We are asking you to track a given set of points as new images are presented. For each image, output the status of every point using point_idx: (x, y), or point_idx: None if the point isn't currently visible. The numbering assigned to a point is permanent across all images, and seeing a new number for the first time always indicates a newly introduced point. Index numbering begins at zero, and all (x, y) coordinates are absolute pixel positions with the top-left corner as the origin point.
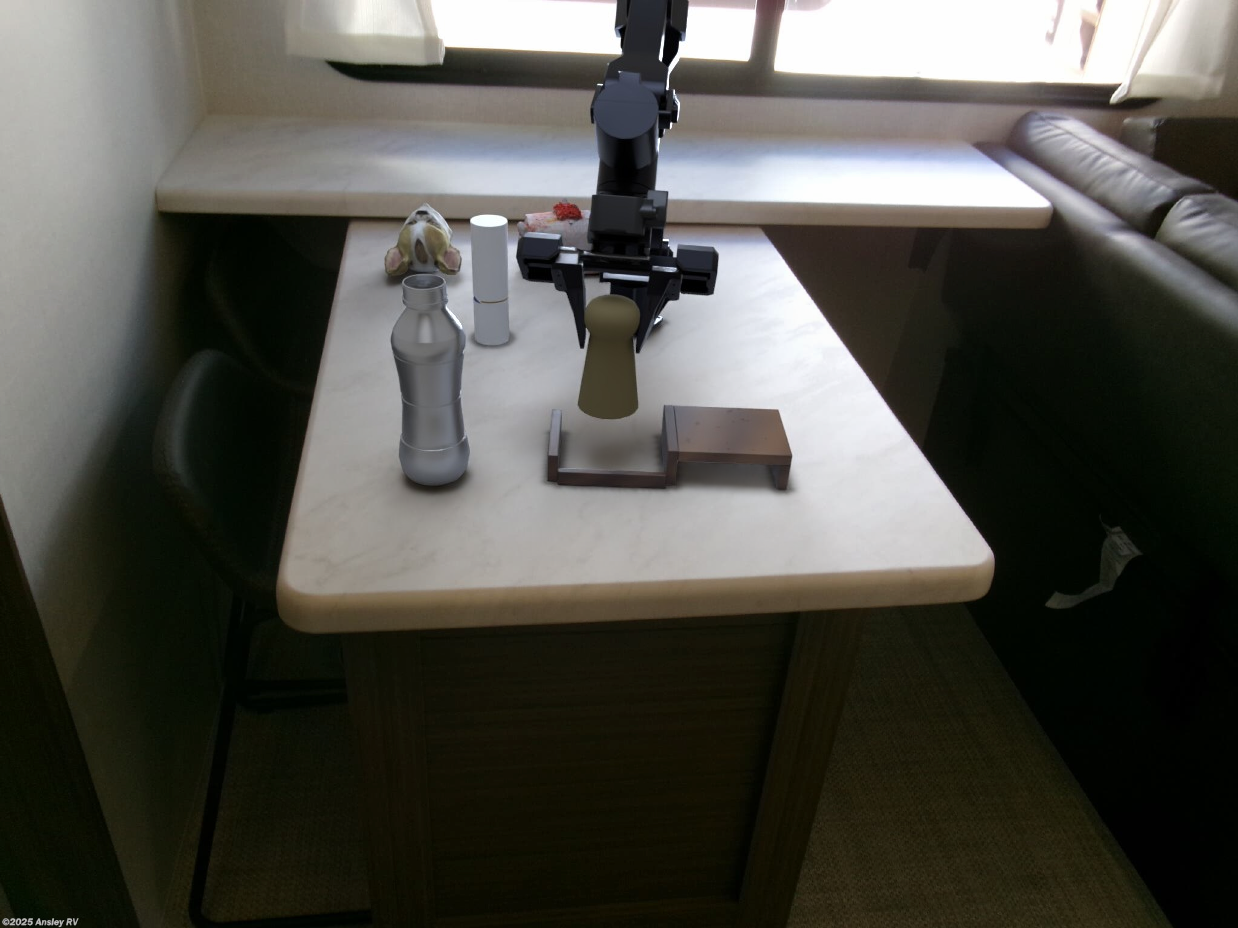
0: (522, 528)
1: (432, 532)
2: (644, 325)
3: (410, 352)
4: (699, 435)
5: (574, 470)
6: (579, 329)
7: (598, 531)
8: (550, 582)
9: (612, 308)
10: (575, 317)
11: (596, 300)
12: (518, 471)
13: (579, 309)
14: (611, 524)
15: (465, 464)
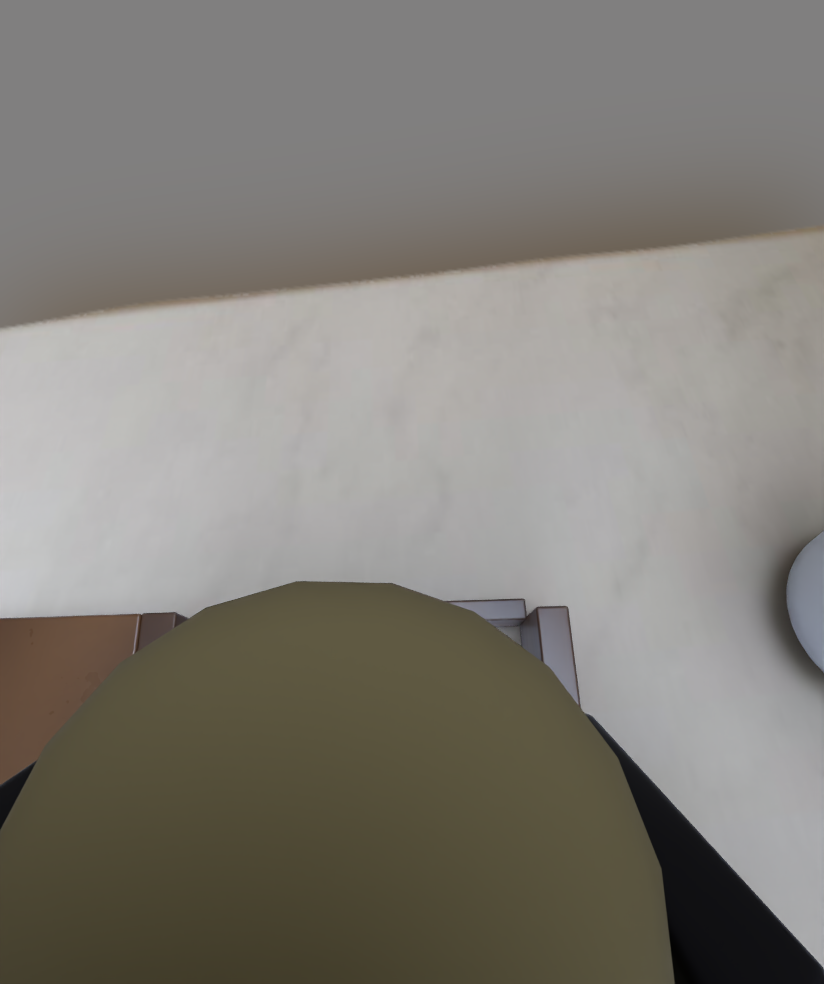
0: (570, 423)
1: (761, 395)
2: (8, 806)
3: None
4: (41, 730)
5: (477, 609)
6: (635, 789)
7: (397, 427)
8: (483, 276)
9: (315, 692)
10: (733, 876)
11: (563, 978)
12: (637, 665)
13: (742, 962)
14: (368, 454)
15: (796, 579)
